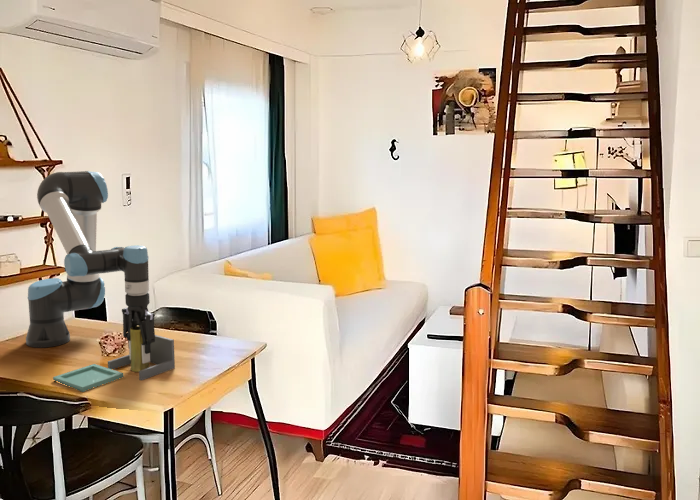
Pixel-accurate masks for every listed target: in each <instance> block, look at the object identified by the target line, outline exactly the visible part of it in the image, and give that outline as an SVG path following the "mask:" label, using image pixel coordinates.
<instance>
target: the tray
mask: <svg viewBox="0 0 700 500" xmlns="http://www.w3.org/2000/svg"><path fill="white" fill-rule="evenodd" d="M122 377H123V378H124V372H121V371H118V370H116V369H113V370H112V369H109V368H108V367H105V366H103V365H99V364H96V363H92V364H89V365H87V366H84V367H83V366H82V367H80V368H78V369H74V370H71V371H68V372H65V373H62V374H58V375H56V376H55V375H54V376H53V377H52V379H53V380H55V381H58V382H60V383H62V384H65V385H67V386H70V387H73V388H75V389H74V390H76V389H77V390H76V391H78V392H82V393H83V392H87V391H89V390H88V389H90V390H92V389H94V388H93V387H95V388H98V387H101V386H103V385H102V384H104V385H106V383H107V384H109V383H112V382H115V381H117V380H116V379H118V380H120V379H119V378H121V379H123V378H122ZM53 380H52V381H53ZM114 380H115V381H114ZM111 381H112V382H111ZM108 382H109V383H108ZM62 384H61V385H62ZM65 385H64V386H65ZM100 385H101V386H100ZM67 386H66V387H67ZM97 386H98V387H97ZM70 387H69V388H70ZM73 388H72V389H73ZM91 388H92V389H91ZM86 390H87V391H86Z"/></svg>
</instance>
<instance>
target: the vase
mask: <svg viewBox="0 0 700 500" xmlns="http://www.w3.org/2000/svg"><path fill="white" fill-rule="evenodd" d="M130 336H131V364H130V367H129V368H130V371H132V372H135V373H137V372H138V373H139V371H140V370H143V369H146V368H149V367H150V362H147V363H144V364H143V363H142V345H141V344H142V343H143V340H142V335H141V331H140V327H139V325H137V326H136V327H135V328H133V327H132V328H130Z"/></svg>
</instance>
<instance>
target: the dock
mask: <svg viewBox="0 0 700 500" xmlns="http://www.w3.org/2000/svg"><path fill="white" fill-rule="evenodd" d="M150 346H151V348H150V349H151V352H150V362H149V364H155V365H150V366H149V368H146V369H143V370H140V371H139V372H138V379H139V381H144V380H147V379H150V378H152V377H155V376H158V375H160V374H163V373H166V372H168V371H171V370H173V369H175V367H176V365H175V361H176V360H175V340H174V339H172V338H168V337H165V336H161V335H157V334H155V342H153V343H151V344H150ZM127 365H131V360H130V356H129V354H126V355H124V356H120V357H117V358H114V359H111V360H108V361H107V368H109V369H113V370H116V369H119V368H122V367H125V366H127ZM121 366H122V367H121ZM118 367H119V368H118ZM115 368H116V369H115Z"/></svg>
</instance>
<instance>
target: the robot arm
mask: <svg viewBox="0 0 700 500" xmlns="http://www.w3.org/2000/svg"><path fill="white" fill-rule="evenodd" d="M36 194H37V195H36V196H37V197H36V198H37V203H38V206H39V207H40V209H41V210H42V212H44V213H46V215H47V216H48V219H49V220H50V222H51V224H52V226H53V228H54V230H55V232H56V234H57V237H58V238H59V240H60V243H61V244H62V246H63V249H64V250H65V253H66V255H65V257H64V259H63V260H64V261H63V264H64V265H63V266H64V269H65V272H66V274H67V275H66V281H63V280H62V279H61V278H58V277H55V278H54V277H53V278H45V279H41V280H37V281H35V282H33V283H31V284H30V285H29V286H28V287H27V288H28V289H27V300H28V313H29V314H28V315H29V325H28V329H27V333H26V336H25V344H26V346H28V347H30V348H40V349H41V348H52V347H57V346H61V345H64V344H67V343H69V342H70V341H71V335H70V334H71V333H70V330H69V329H68V326H67V324H66V322H65V317H64V315H65V313H67V312H75V311H79V310H89V309H92V308H97V307H99V306H101V304H102V303H103V302H104V300H105V295H106V287H105V281H104V279H103V278H102V277H101V276H100V274H106V273H107V274H108V273H115V272H116V273H117V272H123V273H124V291H125V295H124V296H125V305H126V306H127V307H125V308H122V309H121V313H122V331H123V332H122V336H123V338H126V340H127V341H128V342H127V343H128V344H127V345H128V352H129V353H128V355H129V356H130V360H131V336H130V328H132V327H133V328H135V327H136V326H139V327H140V331H141V335H142V340H143V343H142V344H141V345H142V363H143V364H144V363H147V362H149V363H150V352H151V349H150V348H151V346H150V344H151V343H153V342H155V335H156V334H155V333H156V332H155V316H156V315H155V312H154V313H153V312H152V313H151V312H149V308H148V307H149V304H150V301H151V300H150V293H149V292H150V280H149V276H150V275H149V254H148V248H147V247H146V246H144V245H128V246H125V247H123V246H115V247H113V248H111V249H104V250H97V223H98V219H97V217H98V216H97V215H98V212H99V211H100V210H102V204H104V203H106V202H107V201H108V198H109V191H108V186H107V182H106V180H105V178H104V176H103V175H102V174H101V173H100V172H99V171H89V170H85V171H57V172H53V173H50V174H49V175H47V176H46V177H44V179H42V181H41V182H40V183H39V185H38V189H37V193H36Z"/></svg>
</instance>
